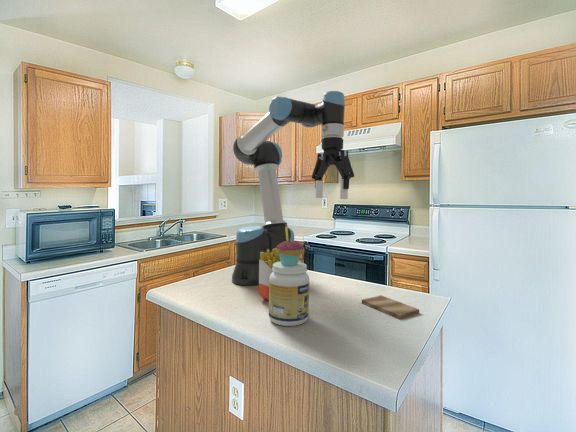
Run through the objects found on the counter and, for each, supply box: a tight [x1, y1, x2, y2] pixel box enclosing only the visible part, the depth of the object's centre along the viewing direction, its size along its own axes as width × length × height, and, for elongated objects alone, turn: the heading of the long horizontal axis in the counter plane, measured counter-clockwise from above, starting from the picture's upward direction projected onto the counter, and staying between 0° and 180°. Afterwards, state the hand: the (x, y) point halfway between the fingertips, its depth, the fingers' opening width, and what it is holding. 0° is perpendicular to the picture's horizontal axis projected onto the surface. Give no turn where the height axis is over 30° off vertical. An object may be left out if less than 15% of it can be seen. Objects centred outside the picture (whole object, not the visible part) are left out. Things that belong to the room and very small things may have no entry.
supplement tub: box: [268, 261, 310, 327], centre depth 94 cm, size 12×12×17 cm
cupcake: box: [276, 224, 305, 266], centre depth 92 cm, size 9×8×12 cm
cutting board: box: [361, 294, 420, 320], centre depth 105 cm, size 16×10×1 cm, turn 32°
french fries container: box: [258, 248, 281, 302], centre depth 111 cm, size 5×11×18 cm, turn 139°
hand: (330, 198), depth 110 cm, fingers open, 13 cm apart
